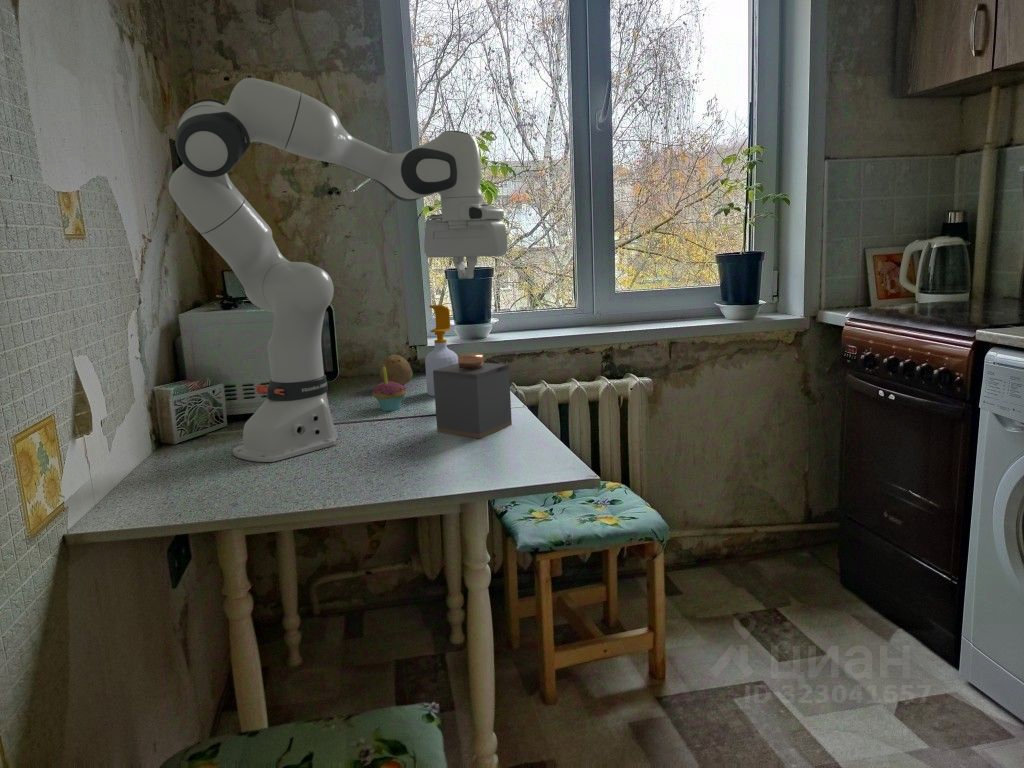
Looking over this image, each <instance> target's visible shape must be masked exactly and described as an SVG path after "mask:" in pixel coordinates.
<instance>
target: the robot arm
mask: <svg viewBox="0 0 1024 768" xmlns="http://www.w3.org/2000/svg"><path fill="white" fill-rule="evenodd" d="M174 141H175V149H176V152H177V154H178V157H179V159H180V160H181V162H182V164H181V165H180V166H179V167H178V168H177V169H176V170H174V172H173V173H172V174H171V177H170V178H169V181H168V191H169V194H170V196H171V197H172V199H173V202H175V204H176V205H177V207H178V209H179V210H180V211H181V212H182V213H183V215H184V216H185V217H186V219H187V220H188V222H189V223H190V224H191V226H193V227H194V229H196V230H197V232H198V233H199V234H200V235H201V236H202V237H203V238H204V239H205V240H206V241H207V242H208V244H209V245H210V246H211V247H212V248H213V249H214V250H215V252H216V253H217V254H219V255H220V256H221V258H222V259H223V260H224V261H225V262H226V264H227V265H228V266H229V267H230V269H231V270H232V271H233V273H234V275H235V277H236V278H237V279H238V281H239V283H240V284H241V285H242V287H243V289H244V293H245V295H246V298H247V299H248V301H250V302H251V303H252V304H253V305H254V306H256V307H258V308H259V309H260V310H263V311H265V312H267V313H273V315H274V316H273V317H274V319H273V321H274V322H273V326H272V327H273V328H272V334H271V337H270V339H268V343H267V355H268V363H269V370H270V377H271V379H270V380H269V383H268V386H267V385H266V384H256V387H255V393H257V395H259V394H260V395H265V398H266V399H265V400H264V401H263V403H262V404H261V405H260V406H259V408H257V410H256V411H254V413H253V414H252V416H250V417H249V419H247V421H246V422H245V423H244V426H243V432H242V433H243V434H242V444H240V445H237V446H236V447H234V448H233V449H232V455H233V456H235V457H236V458H239V459H241V460H246V461H249V462H250V461H251V462H257V463H267V462H268V463H271V462H272V463H273V462H278V461H283V460H285V459H289V458H292V457H297V456H299V455H304V454H307V453H310V452H311V453H312V452H314V451H317V450H322V449H326V448H329V447H332V446H335V445H337V439H338V438H339V434H338V432H337V431H338V430H337V429H336V427H335V423H334V421H333V417H332V413H331V409H330V406H329V400H328V399H329V398H328V391H329V386H328V380H327V375H326V374H325V371H324V369H325V368H324V362H323V361H324V360H323V350H322V333H323V325H324V319H325V314H326V310H327V308H328V307H329V306H330V304H331V303H332V300H333V297H334V291H335V289H334V288H335V287H334V283H333V281H332V278H331V276H330V275H329V273H328V272H327V271H325V270H324V269H322V268H320V267H318V266H316V265H314V264H312V263H309V262H306V261H305V262H304V261H303V262H302V261H290V260H288V259H287V258H286V257H284V256H283V254H282V253H281V252H280V249H279V248H278V246H277V243H276V242H275V240H274V238H273V230H272V228H271V227H270V226H269V224H267V222H266V221H265V219H263V218H262V216H261V215H260V214H259V213H258V212H257V210H255V208H254V207H253V206H252V205H251V204H250V202H249V201H248V199H246V198H245V197H244V195H243V193H241V191H239V189H237V187H236V186H235V184H234V183H233V182H232V180H231V179H230V177H229V174H228V173H230V172H231V171H232V170H234V168H235V167H236V166H237V165H238V164H239V162H240V160H241V159H242V158H243V156H244V154H245V153H246V152H247V150H248V149H249V148H250V146H251V143H263V144H265V145H266V144H267V145H270V146H273V147H275V148H276V149H280V150H283V151H285V152H286V153H287V152H288V153H290V154H293V155H296V156H299V157H303V158H306V159H311V160H315V161H321V162H325V163H330V164H334V165H337V166H340V167H343V168H345V169H347V170H350V171H352V172H355V173H357V174H360V175H362V176H364V177H366V178H369V179H372V180H373V181H375V182H376V183H378V184H379V185H381V186H382V187H383V188H384V189H385V190H386V191H387V192H388V193H389V194H390V195H391V196H393V197H394V198H396V199H397V200H399V201H403V202H414V201H417V200H419V199H421V198H426V197H429V196H432V195H434V194H439V196H440V209H441V213H437V214H436V213H434V214H430V215H429V216H428V217H427V218H426V220H425V222H424V225H425V230H424V241H423V242H424V245H423V246H424V247H423V249H424V254H425V255H426V257H427V258H452V263H453V264H454V267H455V268H456V270H457V276H458V279H462V280H463V279H469V280H470V279H474V276H475V275H474V270H475V268H476V266H477V264H478V257H502V256H503V257H504V256H505V255H506V254H507V251H508V235H507V228H506V225H505V223H504V222H503V221H502V219H504V216H505V215H504V213H505V212H504V209H502V208H500V207H497V206H495V205H490V204H488V203H485V202H484V201H483V199H484V198H483V197H484V196H483V193H482V190H481V182H482V181H481V179H482V161H481V153H480V148H479V144H478V141H477V138H475V137H474V136H473V135H472V134H470V133H468V132H466V131H465V132H464V131H460V130H444V131H442V132H441V133H440V134H439V135H437V136H436V137H435V138H433V139H432V140H430V141H427V142H426V143H423V144H422V145H419V146H417V147H414V148H411V149H408V150H407V151H405V152H400V153H391V152H387V151H385V150H382V149H380V148H378V147H375V146H373V145H371V144H369V143H366V142H364V141H362V140H360V139H357V138H356V137H354V136H352V135H351V134H350V133H349V132H348V131H347V130H346V129H345V128H344V126H343V125H342V123H341V121H340V119H339V116H338V115H337V113H336V112H335V110H333V109H332V108H331V107H330V106H328V105H326V104H325V103H323V102H322V101H320V100H319V99H316V98H315V97H313V96H310V95H309V94H306V93H303V92H301V91H299V90H296V89H294V88H291V87H289V86H288V87H287V86H285V85H282V84H279V83H276V82H273V81H268V80H264V79H261V78H256V77H245V78H243V79H242V80H240V81H239V82H237V84H236V85H235V86H234V87H233V89H232V91H231V93H230V96H229V99H228V102H227V103H225V102H223V101H220V100H218V99H214V98H212V99H211V98H203V99H200V100H196V101H194V102H193V103H191V104H190V105H189V106H188V107H187V108H186V110H185V111H184V113H183V114H182V115H181V117H180V119H179V121H178V124H177V131H176V133H175V140H174ZM465 259H466V263H467V266H466V268H465V265H464V264H463V262H464V261H465Z"/></svg>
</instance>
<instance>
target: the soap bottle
mask: <svg viewBox="0 0 1024 768" xmlns="http://www.w3.org/2000/svg"><path fill="white" fill-rule="evenodd" d="M429 308H431V309H433V310H434V315H435V328H433V329H431V330H430V332H429V333H434V335H435V336H436V339H435V340H434V341H433V343H434V348H433V350H431V351H430V352H429V353H427V355H426V357H425V360H424V363H425V364H424V365H425V378H426V379H425V380H426V392H427V395H428V396H431V397H434V398H435V392H434V378H433V371H434V370H437V369H440V368H444V367H447V366H451V365H454V364H458V354H457V353H456V352H455V351H454V350H451V349H450V348H448V344H447V339H445V338H444V335H446V332H447V331H450V329H451V316H450V315H451V314H450V309H449V308H448V307H447V306H445V305H441V304H433V305H432V304H430V305H429Z"/></svg>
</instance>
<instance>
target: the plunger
mask: <svg viewBox="0 0 1024 768" xmlns="http://www.w3.org/2000/svg"><path fill="white" fill-rule="evenodd" d="M457 356H458V366H459V368H469V369H474V368H478V367H482V366H484V354H483V353H481V352H468V353H461V354H457Z"/></svg>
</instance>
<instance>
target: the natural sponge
mask: <svg viewBox="0 0 1024 768" xmlns="http://www.w3.org/2000/svg"><path fill="white" fill-rule="evenodd" d="M383 364H384V366H383ZM383 367H386V373H387V380H388V381H394V382H398V383H400V384H402V385H403V386H404V387H405V385H406V384H408V383H409V382H410V381H411V380H412V378H413V375H414V374H413V371H412V370H413V369H412V367H411V365H410V364H409V362H408V360H407V359H406V358H405V357H403V356H401V355H398V354H390V355H388V356H386V358H385V359H383V361H382V363H381V365H380V371H379V376H380V378H381V380H382V381H383V382H385V378H384V371H383Z"/></svg>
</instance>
